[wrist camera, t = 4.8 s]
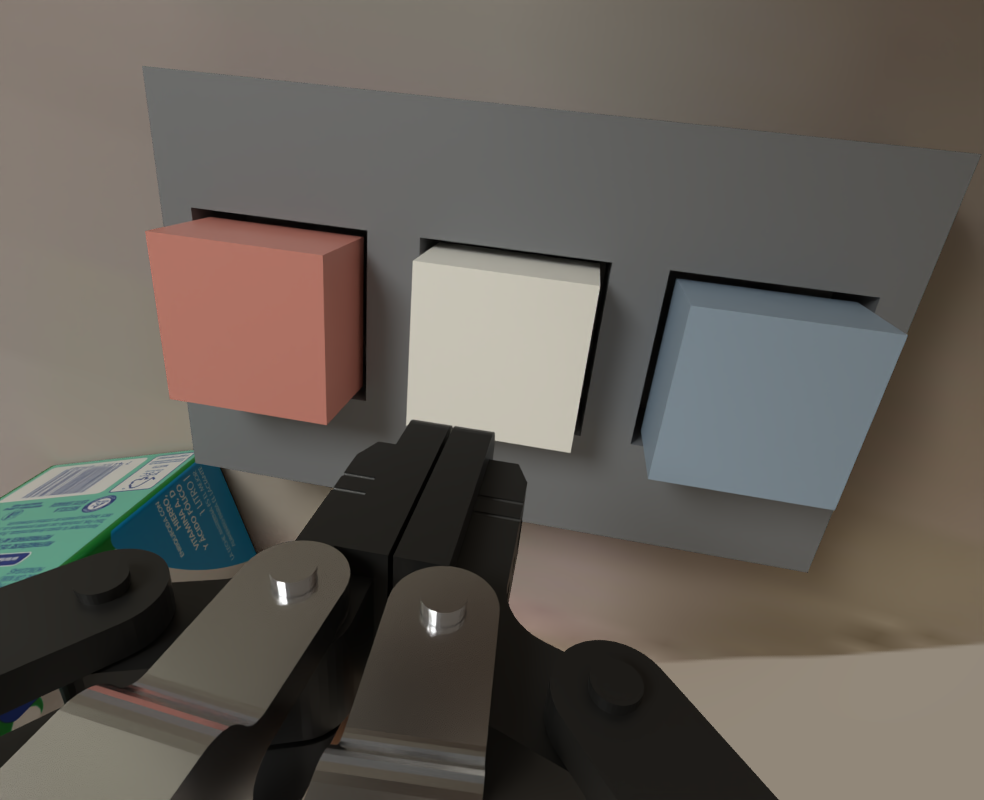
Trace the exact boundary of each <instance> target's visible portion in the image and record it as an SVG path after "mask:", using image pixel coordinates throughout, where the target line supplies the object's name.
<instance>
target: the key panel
mask: <svg viewBox="0 0 984 800" xmlns="http://www.w3.org/2000/svg"><path fill="white" fill-rule="evenodd" d="M142 68H143V76H144V83H145V91H146V98H147V106H148V113H149V121H150V128H151V135H152V143H153V150H154V158H155V165H156V173H157V180H158V188H159V195H160V203H161V210H162V217H163V225H164V227H166V226H171V225H175V224H180V223H184V222H189V221H193V220H198V219H203V218H207V217H217V218H225V219H232V220H240V221H247V222H255V223H262V224H270V225H278V226H285V227H293V228H300V229H308V230H315V231H323V232H330V233H338V234H346V235H353V236H361V237H364V260H363V386H362V387H361V389H360V390H359V391H358V392H357V393H356V394H355V395H354V396H353V397H352V398H351V399H350V400H349V402H348V403H347V404H346V405H345V406H344V407H343V408H342V409H341V410H340V411H339V412H338V413H337V415H336V416H335V417H334V418H333V419H332V420H331V421H330V422H329V423H328V424H327V425H323V424H317V423H311V422H305V421H299V420H293V419H287V418H281V417H275V416H269V415H263V414H257V413H251V412H245V411H239V410H233V409H227V408H221V407H215V406H209V405H203V404H197V403H191V402H187V404H188V411H189V419H190V426H191V434H192V441H193V449H194V456H195V463H198V464H204V465H210V466H215V467H221V468H226V469H232V470H238V471H243V472H249V473H254V474H260V475H265V476H271V477H277V478H282V479H288V480H293V481H299V482H305V483H310V484H316V485H321V486H327V487H332V488H334V486H335V484H336V483H337V481H338V480H339V479H340V477H341V476H342V475H343V476H344V472H345V470H346V469H347V467H348V466H349V465H350V463H351V462H352V460H353V459H354V458H355V456H356V455H357V454H358V453H360V452H362V451H363V450H365V449H367V448H368V447H370V446H372V445H373V444H375V443H377V442H378V441H379V442H385V443H391V444H396V443H397V442H398V440H399V438H400V437H401V435H402V434H403V432H404V430H405V429H406V427H407V426H406V415H407V390H408V366H409V341H410V317H411V292H412V268H413V260H415V259H416V258H417V257H419V256H420V255H422V254H423V253H425V252H426V251H427V250H429V249H430V248H432V247H433V246H435V245H436V244H437V243H439V242H444V243H451V244H459V245H466V246H474V247H482V248H489V249H497V250H504V251H512V252H520V253H527V254H535V255H543V256H550V257H558V258H565V259H573V260H581V261H588V262H596V263H600V290H599V296H598V301H597V307H596V313H595V318H594V324H593V329H592V335H591V341H590V346H589V352H588V357H587V363H586V369H585V374H584V380H583V386H582V391H581V397H580V402H579V408H578V414H577V419H576V425H575V430H574V436H573V442H572V447H571V453H567V452H561V451H555V450H549V449H543V448H537V447H531V446H525V445H519V444H513V443H507V442H501V441H495V445H494V455H493V460H497V461H503V462H509V463H515V464H519V466H520V468H521V470H522V472H523V474H524V476H525V479H526V481H527V489H526V497H525V504H524V511H523V518H522V522H528V523H534V524H539V525H545V526H550V527H556V528H561V529H567V530H573V531H578V532H584V533H589V534H595V535H601V536H606V537H612V538H617V539H623V540H628V541H634V542H640V543H645V544H651V545H656V546H662V547H668V548H673V549H679V550H684V551H690V552H695V553H701V554H707V555H712V556H718V557H723V558H729V559H735V560H740V561H746V562H751V563H757V564H763V565H768V566H774V567H779V568H785V569H790V570H796V571H802V572H807V573H808V570H809V568H810V565H811V563H812V561H813V558H814V556H815V553H816V551H817V549H818V546H819V544H820V541H821V539H822V537H823V534H824V532H825V529H826V527H827V525H828V522H829V520H830V517H831V515H832V513H833V510H829V509H823V508H817V507H811V506H805V505H799V504H794V503H788V502H782V501H776V500H770V499H764V498H758V497H752V496H746V495H740V494H734V493H728V492H722V491H716V490H710V489H704V488H698V487H692V486H686V485H680V484H674V483H668V482H662V481H656V480H650V479H648V476H647V469H646V462H645V455H644V448H643V441H642V435H641V428H642V423H643V419H644V415H645V411H646V406H647V402H648V398H649V393H650V389H651V385H652V380H653V376H654V372H655V367H656V363H657V359H658V355H659V350H660V346H661V342H662V337H663V333H664V329H665V324H666V320H667V316H668V311H669V307H670V303H671V298H672V294H673V290H674V286H675V281H676V278H679V279H686V280H694V281H701V282H709V283H716V284H724V285H732V286H739V287H747V288H754V289H762V290H769V291H777V292H785V293H792V294H800V295H807V296H815V297H822V298H830V299H838V300H845V301H853V302H858V303H860V304H861V305H863V306H864V307H866V308H867V309H869V310H870V311H872V312H873V313H875V314H876V315H878V316H879V317H881V318H882V319H884V320H885V321H887V322H889V323H890V324H892V325H893V326H895V327H896V328H898V329H899V330H901V331H902V332H904V333H905V334H907V332H908V330H909V327H910V325H911V323H912V320H913V318H914V315H915V313H916V310H917V308H918V306H919V303H920V301H921V298H922V296H923V294H924V291H925V289H926V286H927V284H928V282H929V279H930V277H931V274H932V272H933V270H934V267H935V265H936V262H937V260H938V258H939V255H940V253H941V250H942V248H943V246H944V243H945V241H946V238H947V236H948V234H949V231H950V229H951V226H952V224H953V221H954V219H955V217H956V214H957V212H958V209H959V207H960V205H961V202H962V200H963V197H964V195H965V193H966V190H967V188H968V185H969V183H970V181H971V178H972V176H973V173H974V171H975V169H976V166H977V164H978V161H979V159H980V157H981V154H975V153H966V152H956V151H946V150H937V149H927V148H918V147H908V146H899V145H889V144H880V143H870V142H861V141H851V140H842V139H832V138H823V137H813V136H804V135H794V134H785V133H775V132H766V131H756V130H747V129H737V128H728V127H718V126H709V125H699V124H690V123H680V122H671V121H661V120H652V119H642V118H633V117H623V116H613V115H604V114H594V113H585V112H575V111H566V110H556V109H547V108H537V107H528V106H518V105H509V104H499V103H490V102H480V101H471V100H461V99H452V98H442V97H433V96H423V95H414V94H404V93H395V92H385V91H376V90H366V89H357V88H347V87H338V86H328V85H319V84H309V83H300V82H290V81H280V80H271V79H261V78H252V77H242V76H233V75H223V74H214V73H204V72H195V71H185V70H176V69H166V68H157V67H147V66H142Z"/></svg>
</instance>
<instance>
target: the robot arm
mask: <svg viewBox="0 0 984 800" xmlns="http://www.w3.org/2000/svg"><path fill="white" fill-rule="evenodd" d="M494 445H495V432H491V431H484V430H478V429H472V428H465V427H459V426H454V427H453V426H452V425H445V424H439V423H433V422H426V421H420V420H414V419H413V420H411V421H410V422H409V424H408V425H407V427H406V429H405V430H404V432H403V434H402V435H401V437H400V438H399V440H398V442H397V443H396V444H391V443H385V442H379V441H378V442H377V443H375V444H373V445H372V446H370V447H368V448H367V449H365V450H363V451H362V452H360V453H358V454H357V455H356V456H355V458H354V459H353V460H352V462H351V463H350V465H349V466H348V467H347V469H346V470H345V472H344V476H343V475H342V476H341V477H340V479H339V480H338V481H337V483H336V484H335V486H334V489H333V490H331V491H330V493H329V494H328V495H327V497H326V498H325V500H324V501H323V502H322V504H321V505H320V507H319V508H318V509H317V511H316V512H315V514H314V515H313V516H312V518H311V519H310V521H309V522H308V523H307V525H306V526H305V528H304V529H303V530H302V532H301V533H300V535H299V536H298V537H297V539H296V540H295V541H291V542H285V543H282V544H278V545H275V546H272V547H270V548H267V549H265V550H263V551H261V552H260V553H258V554H257V555H255V556H254V557H252V558H251V559H250V560H249V561H248V562H247V563H246V564H245V565H244V566H243V567H242V568H241V569H240V570H239V571H238V572H237V573H236V575H235V576H234V577H233V578H228V579H218V580H202V581H186V582H172V581H171V576H170V571H169V567H168V565H167V563H166V562H165V560H164V559H163V558H162V557H160V556H159V555H157V554H155V553H153V552H150V551H146V550H142V549H117V550H110V551H105V552H101V553H97V554H94V555H91V556H88V557H85V558H82V559H79V560H77V561H74V562H71V563H68V564H65V565H63V566H60V567H57V568H54V569H51V570H48V571H46V572H43V573H40V574H37V575H34V576H31V577H29V578H26V579H23V580H20V581H17V582H15V583H12V584H9V585H6V586H3V587H0V715H3V714H5V713H7V712H9V711H11V710H13V709H16V708H18V707H20V706H22V705H24V704H26V703H28V702H31V701H33V700H35V699H37V698H39V697H41V696H44V695H46V694H48V693H50V692H52V691H54V690H57V689H59V691H60V694H61V696H62V699H63V702H64V706H62V707H60V708H58V709H56V710H54V711H52V712H50V713H48V714H46V715H44V716H42V717H40V718H38V719H35V720H33V721H31V722H29V723H27V724H25V725H23V726H21V727H19V728H17V729H15V730H13V731H11V732H8V733H6V734H4V735H2V736H0V800H778V799H777V797H776V796H775V795H774V794H773V793H772V792H771V791H770V790H769V789H768V787H766V785H765V784H764V783H763V782H762V781H761V780H760V779H759V777H758V776H757V775H756V774H755V773H754V772H753V771H752V770H751V769H750V768H749V766H748V765H747V764H746V763H745V762H744V761H743V760H742V759H741V758H740V756H739V755H738V754H737V753H736V752H735V751H734V750H733V749H732V747H730V745H729V744H728V743H727V742H726V741H725V740H724V739H723V737H722V736H721V735H720V734H719V733H718V732H717V731H716V730H715V729H714V727H713V726H712V725H711V724H710V723H709V722H708V721H707V720H706V718H705V717H704V716H703V715H702V714H701V713H700V712H699V711H698V710H697V708H696V707H695V706H694V705H693V704H692V703H691V702H690V701H689V700H688V698H687V697H686V696H685V695H684V694H683V693H682V692H681V691H680V690H679V688H678V687H677V686H676V685H675V684H674V683H673V682H672V681H671V679H670V678H669V677H668V676H667V675H666V674H665V673H664V672H663V671H662V670H661V668H659V667H658V666H657V665H656V664H655V663H654V662H653V661H652V660H651V659H649V658H648V657H647V656H645V655H644V654H642V653H641V652H639V651H637V650H636V649H633V648H631V647H629V646H626V645H624V644H620V643H617V642H612V641H605V640H593V641H585V642H582V643H579V644H576V645H574V646H572V647H570V648H568V649H567V650H566V651H565V652H563V651H561V650H559V649H557V648H555V647H553V646H551V645H549V644H547V643H545V642H543V641H542V640H540V639H538V638H537V637H535V636H534V635H532V634H531V633H530V632H528V631H527V630H526V629H525V628H524V627H523V626H522V625H521V624H520V623H519V622H518V621H517V619H516V618H515V617H514V615H513V613H512V611H511V609H510V607H509V604H508V602H509V597H510V591H511V586H512V581H513V575H514V570H515V564H516V559H517V554H518V547H519V540H520V533H521V526H522V518H523V511H524V504H525V497H526V489H527V481H526V479H525V476H524V474H523V472H522V470H521V468H520V466H519V464H515V463H509V462H503V461H497V460H493V455H494Z"/></svg>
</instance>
